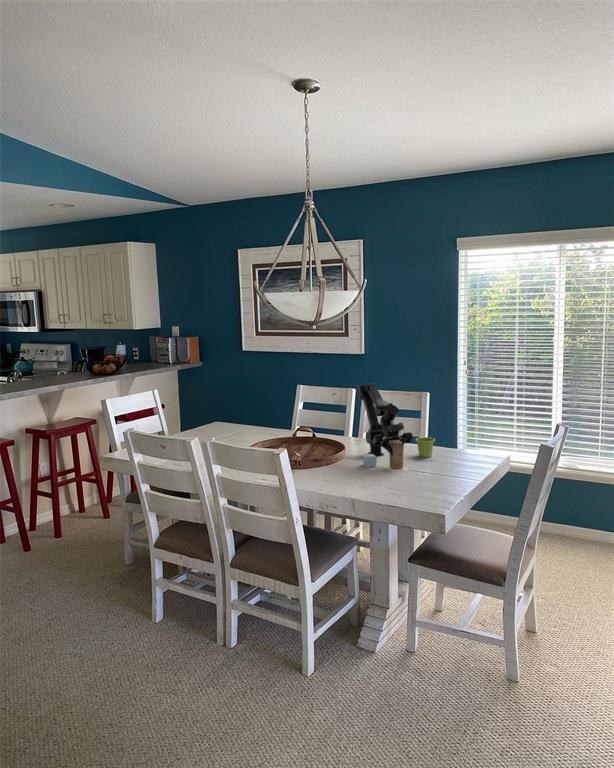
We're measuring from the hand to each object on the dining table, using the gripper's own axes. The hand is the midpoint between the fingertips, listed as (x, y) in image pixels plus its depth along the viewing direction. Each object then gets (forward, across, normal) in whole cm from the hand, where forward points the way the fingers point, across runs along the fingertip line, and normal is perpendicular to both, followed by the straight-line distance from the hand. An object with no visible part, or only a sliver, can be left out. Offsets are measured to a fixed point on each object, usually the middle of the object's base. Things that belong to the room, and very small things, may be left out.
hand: (397, 454), depth 275 cm
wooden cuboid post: (+4, 0, +6) cm, 7 cm away
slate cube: (-2, -10, +12) cm, 16 cm away
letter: (+3, 0, +6) cm, 7 cm away
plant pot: (-6, +22, +17) cm, 28 cm away
